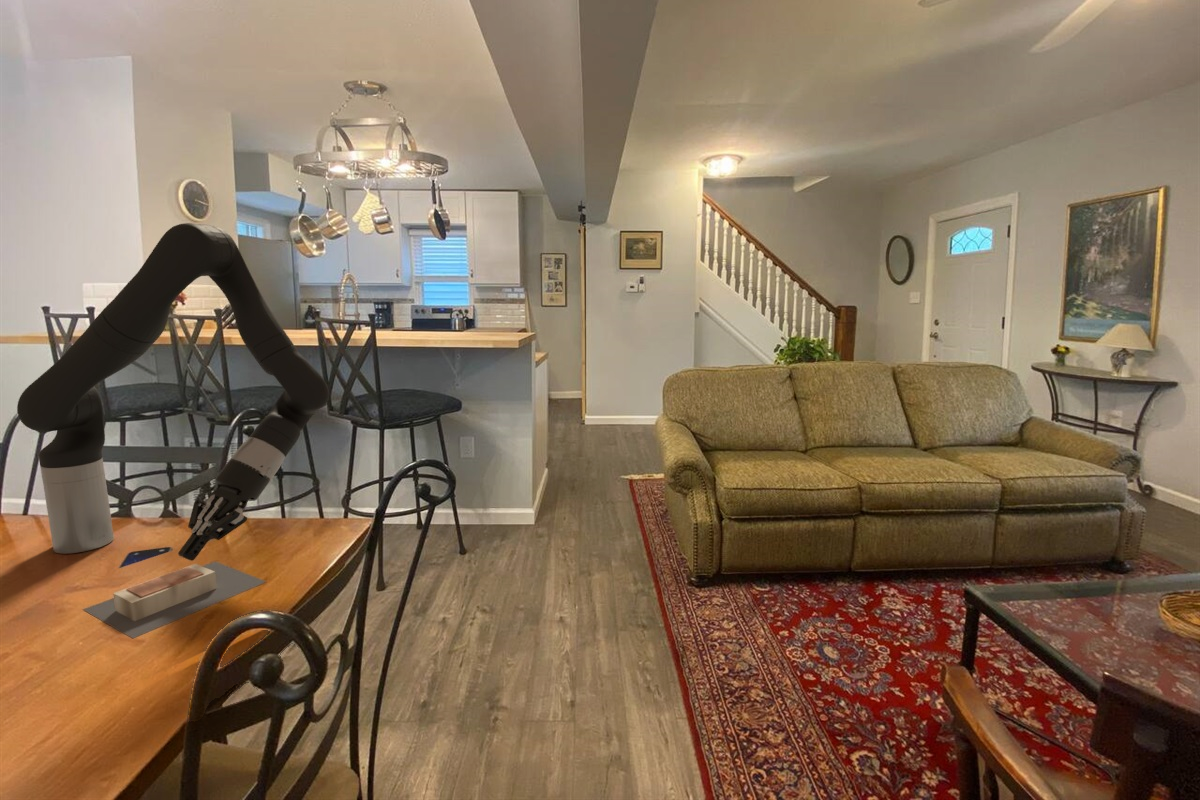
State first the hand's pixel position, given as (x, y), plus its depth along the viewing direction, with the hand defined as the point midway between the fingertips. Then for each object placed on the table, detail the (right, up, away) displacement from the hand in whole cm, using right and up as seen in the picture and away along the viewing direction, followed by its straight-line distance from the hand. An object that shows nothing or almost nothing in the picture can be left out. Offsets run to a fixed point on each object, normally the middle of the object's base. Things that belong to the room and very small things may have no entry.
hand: (185, 557), depth 99 cm
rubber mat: (-1, -7, 0) cm, 7 cm away
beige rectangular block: (+1, -4, +3) cm, 5 cm away
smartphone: (-16, -5, +12) cm, 20 cm away
